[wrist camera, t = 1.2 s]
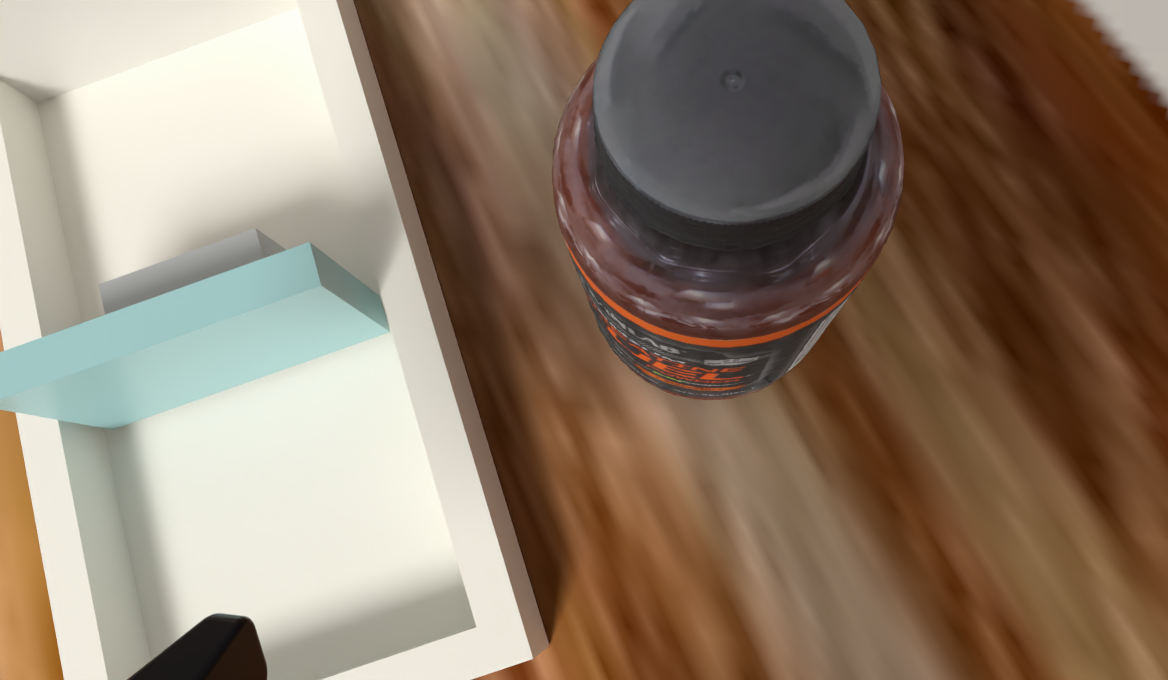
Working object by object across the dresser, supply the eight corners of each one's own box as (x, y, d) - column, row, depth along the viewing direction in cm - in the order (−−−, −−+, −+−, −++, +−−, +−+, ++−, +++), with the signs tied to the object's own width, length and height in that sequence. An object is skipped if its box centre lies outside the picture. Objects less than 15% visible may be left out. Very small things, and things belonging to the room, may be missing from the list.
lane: (549, 645, 22) (492, 690, 16) (149, 779, 23) (-65, 877, 16) (344, -28, 27) (235, -205, 20) (14, 94, 27) (-196, -42, 21)
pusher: (390, 332, 23) (321, 285, 19) (112, 429, 24) (-19, 406, 19) (362, 234, 24) (289, 168, 20) (92, 330, 24) (-40, 286, 20)
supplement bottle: (561, 362, 24) (450, 214, 13) (637, 154, 25) (596, -154, 14) (788, 439, 23) (883, 349, 12) (858, 218, 24) (1008, -58, 13)
